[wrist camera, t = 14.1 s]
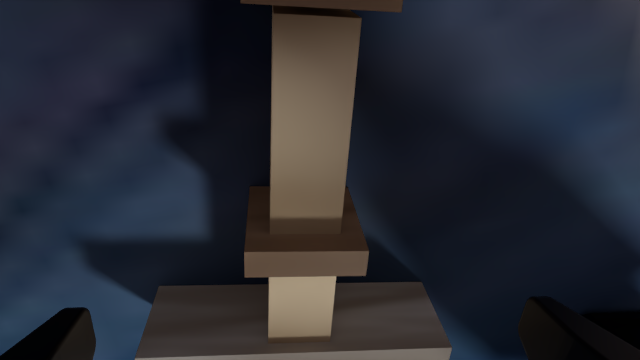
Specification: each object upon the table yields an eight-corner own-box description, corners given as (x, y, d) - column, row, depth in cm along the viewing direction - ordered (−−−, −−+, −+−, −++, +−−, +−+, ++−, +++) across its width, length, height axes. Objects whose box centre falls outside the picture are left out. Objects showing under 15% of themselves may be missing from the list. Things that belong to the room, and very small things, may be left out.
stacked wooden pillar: (116, -60, 14) (54, -66, 10) (486, -34, 15) (563, -30, 11) (161, 310, 20) (135, 396, 16) (416, 304, 22) (449, 382, 18)
